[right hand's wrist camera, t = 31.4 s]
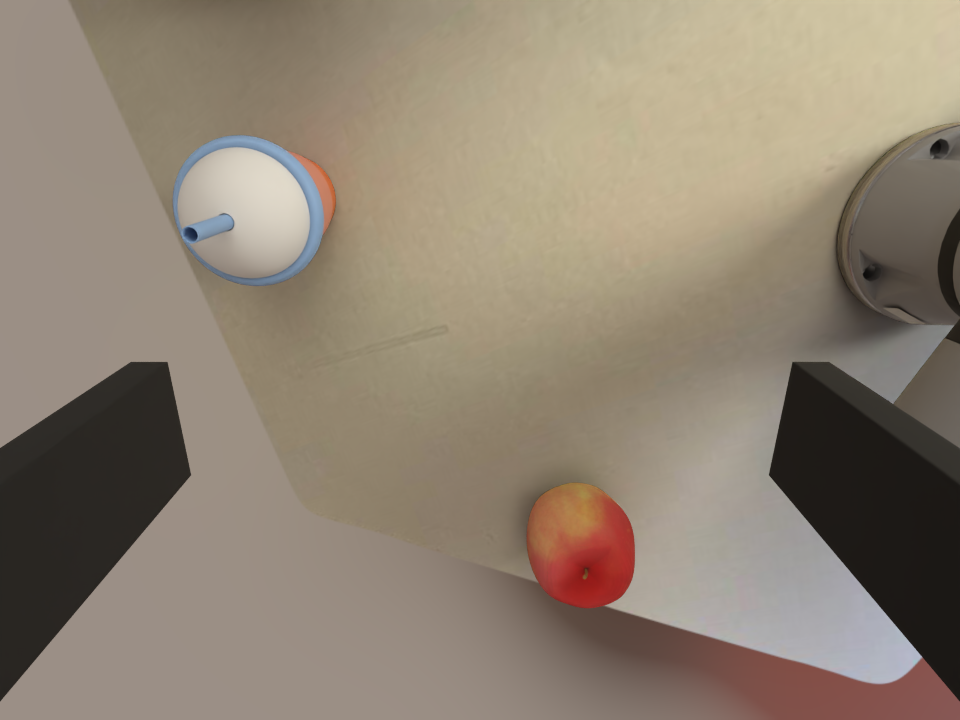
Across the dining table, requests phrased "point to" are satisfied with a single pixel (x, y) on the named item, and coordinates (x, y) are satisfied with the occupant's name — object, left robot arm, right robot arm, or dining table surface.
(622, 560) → the apple
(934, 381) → the right robot arm
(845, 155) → the dining table surface
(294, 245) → the cup with straw
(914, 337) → the dining table surface
